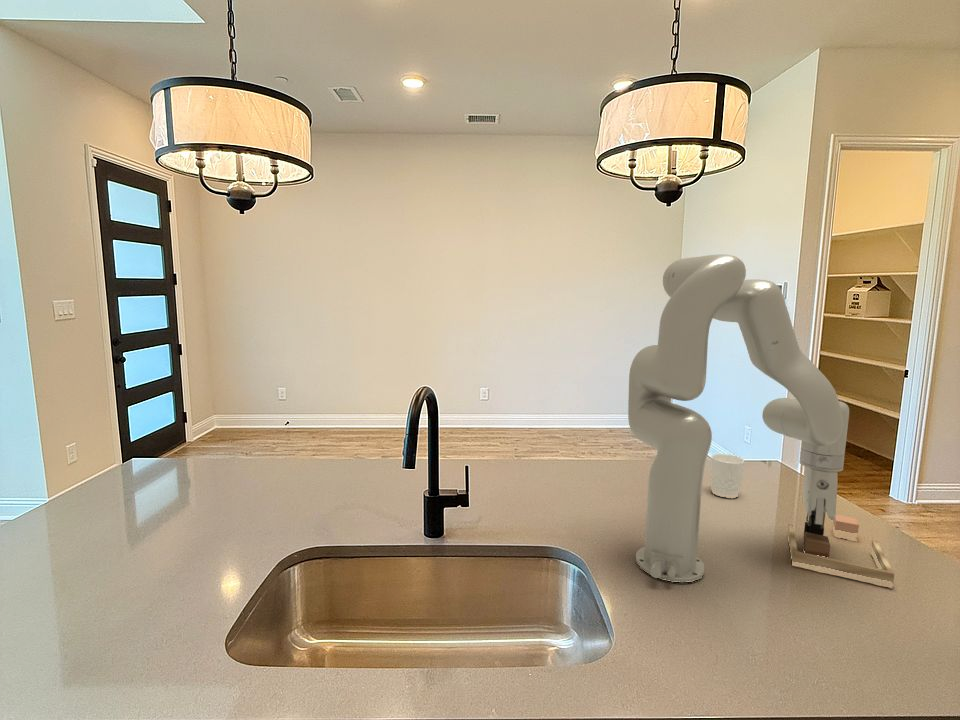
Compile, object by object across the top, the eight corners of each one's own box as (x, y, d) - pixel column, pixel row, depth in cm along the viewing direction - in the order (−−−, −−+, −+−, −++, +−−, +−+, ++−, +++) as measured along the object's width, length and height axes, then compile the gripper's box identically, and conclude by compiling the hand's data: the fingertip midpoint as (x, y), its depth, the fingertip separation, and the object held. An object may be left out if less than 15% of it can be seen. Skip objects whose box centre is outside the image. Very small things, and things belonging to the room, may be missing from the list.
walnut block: (828, 563, 100) (830, 544, 99) (804, 558, 101) (806, 539, 101) (825, 554, 103) (827, 536, 102) (802, 549, 105) (804, 531, 104)
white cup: (733, 502, 129) (736, 465, 127) (703, 493, 135) (705, 457, 133) (746, 495, 134) (749, 459, 132) (716, 486, 140) (719, 451, 138)
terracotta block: (856, 542, 109) (858, 525, 108) (834, 538, 111) (836, 520, 110) (853, 535, 112) (855, 518, 112) (832, 530, 114) (833, 514, 114)
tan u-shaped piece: (892, 589, 91) (894, 573, 91) (791, 566, 98) (793, 552, 98) (875, 555, 103) (877, 541, 103) (787, 536, 111) (788, 524, 110)
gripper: (850, 473, 95) (840, 563, 97) (837, 452, 108) (828, 532, 111) (803, 466, 99) (794, 554, 101) (796, 446, 112) (789, 524, 114)
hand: (812, 542), depth 106 cm, fingers closed
